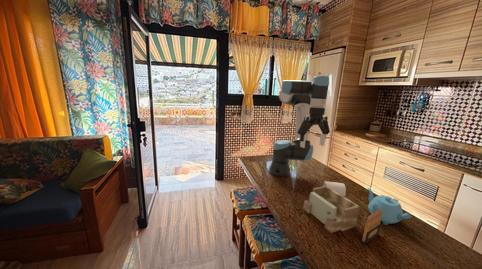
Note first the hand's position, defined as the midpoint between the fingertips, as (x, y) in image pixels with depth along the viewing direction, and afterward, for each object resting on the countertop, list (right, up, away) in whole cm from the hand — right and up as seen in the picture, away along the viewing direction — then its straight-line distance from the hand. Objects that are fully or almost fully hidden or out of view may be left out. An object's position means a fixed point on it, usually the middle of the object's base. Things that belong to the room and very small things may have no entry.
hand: (312, 146), depth 103 cm
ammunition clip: (+14, -36, -25) cm, 46 cm away
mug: (+15, -29, +8) cm, 33 cm away
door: (-2, -33, -15) cm, 36 cm away
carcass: (+2, -33, -13) cm, 35 cm away
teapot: (+29, -34, -13) cm, 46 cm away
